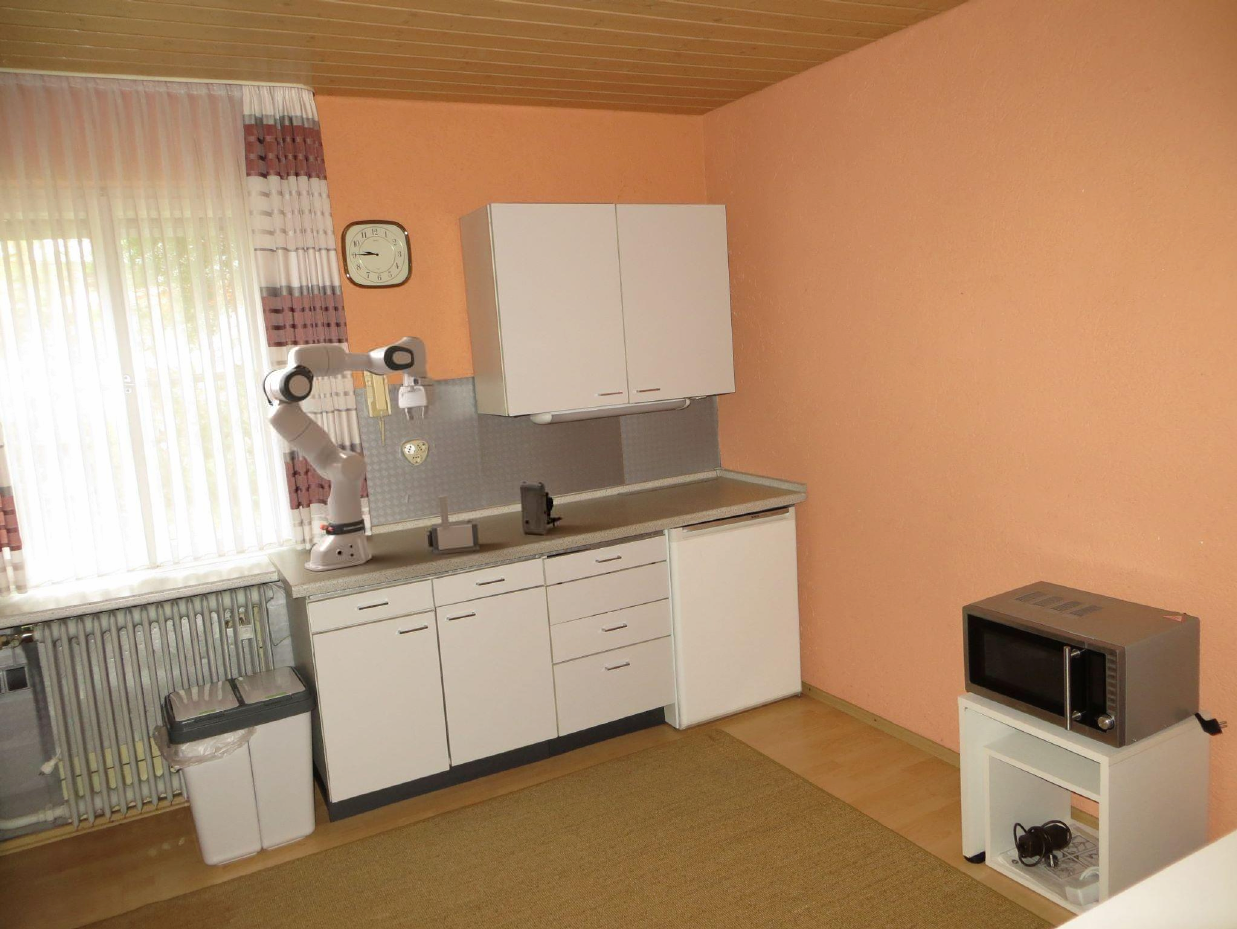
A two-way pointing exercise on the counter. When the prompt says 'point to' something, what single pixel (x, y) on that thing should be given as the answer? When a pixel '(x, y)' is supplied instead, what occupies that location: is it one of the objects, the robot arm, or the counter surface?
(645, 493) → the counter surface
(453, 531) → the side door
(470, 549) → the camera housing
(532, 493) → the vintage camera
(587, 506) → the counter surface
